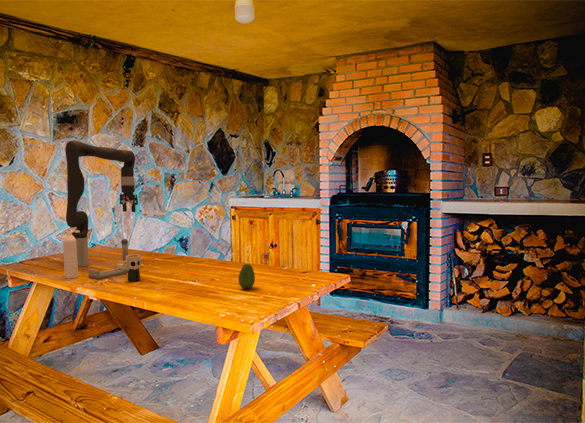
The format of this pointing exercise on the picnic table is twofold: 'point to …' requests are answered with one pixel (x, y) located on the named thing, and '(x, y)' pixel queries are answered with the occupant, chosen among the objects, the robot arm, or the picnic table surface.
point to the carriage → (123, 253)
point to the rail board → (106, 273)
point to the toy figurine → (133, 266)
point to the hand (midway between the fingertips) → (129, 211)
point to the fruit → (246, 277)
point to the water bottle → (70, 256)
